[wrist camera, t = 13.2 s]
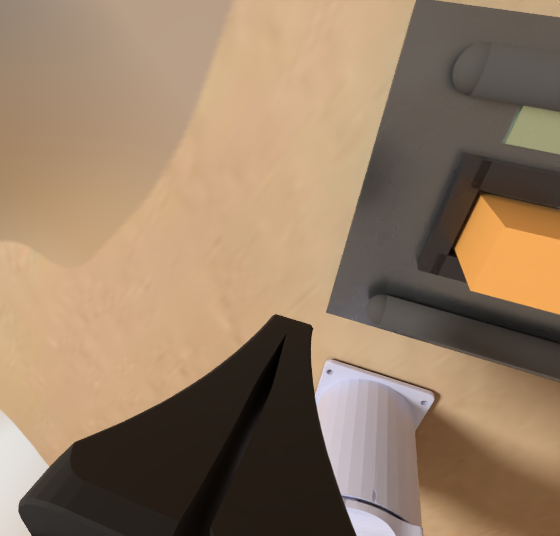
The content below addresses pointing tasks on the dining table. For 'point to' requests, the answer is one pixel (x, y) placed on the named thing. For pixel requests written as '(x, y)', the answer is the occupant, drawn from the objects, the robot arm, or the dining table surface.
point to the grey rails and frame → (450, 327)
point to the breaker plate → (448, 173)
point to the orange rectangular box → (511, 251)
